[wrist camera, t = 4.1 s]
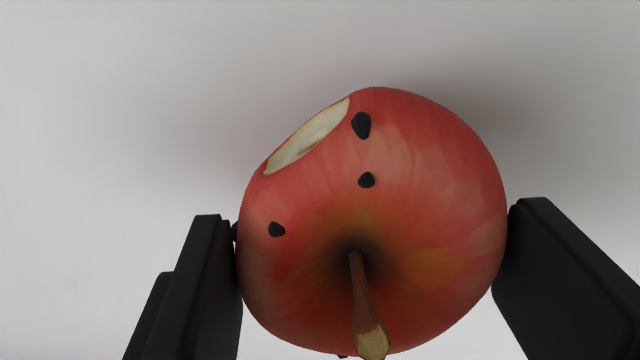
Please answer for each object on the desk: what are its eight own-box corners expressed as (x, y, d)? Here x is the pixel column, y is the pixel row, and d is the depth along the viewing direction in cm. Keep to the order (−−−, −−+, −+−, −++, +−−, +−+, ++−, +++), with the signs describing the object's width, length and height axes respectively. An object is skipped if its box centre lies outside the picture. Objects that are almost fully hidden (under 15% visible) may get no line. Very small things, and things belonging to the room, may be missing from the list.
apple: (231, 68, 13) (96, 313, 4) (448, 43, 13) (787, 232, 4) (271, 258, 16) (245, 600, 8) (438, 238, 16) (602, 558, 8)
